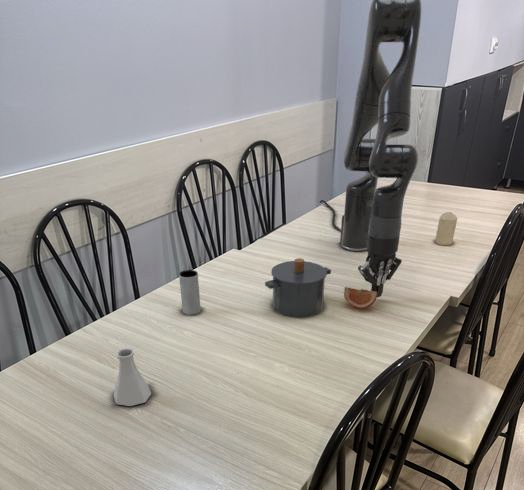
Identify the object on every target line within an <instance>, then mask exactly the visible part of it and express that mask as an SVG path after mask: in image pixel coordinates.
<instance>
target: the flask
mask: <svg viewBox="0 0 524 490" xmlns="http://www.w3.org/2000/svg"><path fill="white" fill-rule="evenodd" d="M134 355H135V351H134V349H133V348H130V347H124V348H120V349H118V351H116V357H117V359H118V362H119V365H118V366H119V368H118V374H117V380H116V383H115V387H114V392H113V399H114V403H115V404H116V405H120V406H126V407H132V406H137V405H140V404H144V403H146V402H147V400H148V399H149V398H150V396H151V395H152V392H151V389H150V387H149V385H148V383H147V381H146V380H145V379H144V377H143V376H142V374H141V372H140V371H139V369H138V367H137V366H136V363H135V360H134Z"/></svg>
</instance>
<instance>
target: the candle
mask: <svg viewBox="0 0 524 490" xmlns="http://www.w3.org/2000/svg"><path fill="white" fill-rule="evenodd" d="M457 222H458V216H456V214H454V213H453V212H452V211H446V212H443V213H442V214H441V215H440V216H439V219H438V223H437V229H436V235H435V243H436V244H437V245H441V246H450V245H452V244H453V242H454V236H455V232H456V227H457Z"/></svg>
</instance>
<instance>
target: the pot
mask: <svg viewBox="0 0 524 490" xmlns="http://www.w3.org/2000/svg"><path fill="white" fill-rule="evenodd" d="M323 267H324V266H323ZM324 268H325V269H326V271H327V276H328V275H331V274H332V270H331V269H329V268H328V267H326V266H325V267H324ZM325 282H326V278H325V279H323V280H322V281H320V282H317V283H314V284H307V285H294V284H287V283H283V282H280V281H278V280H276V279H275V278H274V277H273V276H272V279H271V280H268V281H265V282H264V286H265V287H267V288H268V289H270V290H272V307H273V309H274V310H275V311H276V312H277V313H278V314H280V315H282V316H286V317H291V318H307V317H312V316H315V315H317V314H318V313H320V312H321V311H322V309H323V308H324V307H323V306H324V296H325V294H324V293H325V284H326V283H325Z"/></svg>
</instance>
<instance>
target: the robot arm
mask: <svg viewBox="0 0 524 490" xmlns="http://www.w3.org/2000/svg"><path fill="white" fill-rule="evenodd" d="M367 18H368V19H367V25H366V35H365V43H364V51H363V58H362V64H361V69H360V75H359V79H358V82H357V87H356V93H355V99H354V106H353V113H352V119H351V123H350V129H349V133H348V136H347V140H346V143H345V148H344V154H343V165H344V168H345V169H346V170H347V171H349V172H364V173H365V172H366V173H365V174H364V175H362V176H361V177H360V178H358V179H355V180H352V181H350V182H348V183H347V184H346V190H345V199H344V211H343V212H344V213H343V215H342V216H341V226H340V228H339V227H338V225H336V223H335V219H336V210H335V209H334V208H333V207H332V206H331V205H330V204H329V203H327V201H325V200H324V199H321V200H320V201H319V203H320V204H321V203H323V204H324V205H325V206H326V207H327V208H328V209H330V210H331V211H332V222H331V224H332V227H334V229H335V230H336V231H338V232H340V237H339V238H340V239H339V244H340V245H341V248H343V249H345V250H346V251H347V250H348V251H352V252H363V251H367V256H366V259H365V263H363V265H359V266H358V267H357V270H358V272H359V274H360V275H361V276H362V278H363V279H364V281H365V282H367V283H369V284H371V288H370V291H376V292H378V295H377V298H380V297H382V294H383V292H384V286H385V284H386V282H387V281H390V280H391V279H392V277H393V276H394V275H395V273H396V272H397V270H398V268H399V267H400V266H401V264H402V259H400V258H399V257H397V252H398V250H399V244H400V238H401V230H402V217H403V216H402V215H403V209H404V208H403V207H404V201H405V197H406V193H407V190H408V188H409V185H410V182H411V180H412V178H413V176H414V174H415V172H416V169H417V166H418V161H419V154H418V151H417V148H416V147H415V146H414V145H412V144H388V143H387V142H388V141H389V140H391V139H395V138H399V137H402V136H404V135H406V134H407V133H408V132H409V131H410V128H411V105H412V104H411V103H412V89H413V78H414V73H415V66H416V61H417V53H418V45H419V37H420V30H421V23H422V22H421V21H422V1H421V0H372V1H371V4H370V8H369V11H368V17H367ZM383 43H402V49H401V54H400V56H399V59H398V61H397V62H396V64H395V66H394V68H393V70H392V71H391V73H390V71H389V69H388V67H387V65H386V63H385V61H384V59H383V56H382V53H381V49H380V45H381V44H383ZM375 127H377V130H376V136H375V138H365V136H366V135H367V134H368V133H369V132H370V131H371V130H372V129H373V128H375ZM391 178H392V179H395V180H394V181H393V182H392V183H391V184H388V185H384V186H380V187H378V182H379V179H391ZM377 187H378V188H377Z"/></svg>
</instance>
